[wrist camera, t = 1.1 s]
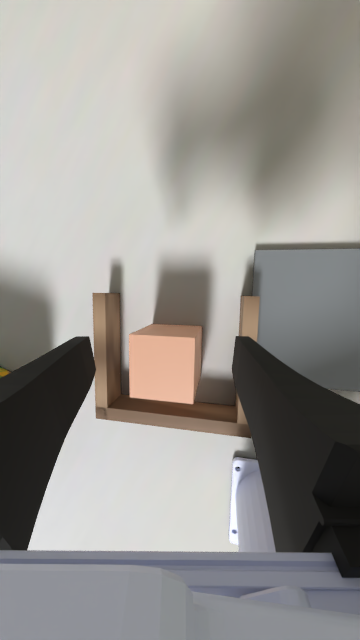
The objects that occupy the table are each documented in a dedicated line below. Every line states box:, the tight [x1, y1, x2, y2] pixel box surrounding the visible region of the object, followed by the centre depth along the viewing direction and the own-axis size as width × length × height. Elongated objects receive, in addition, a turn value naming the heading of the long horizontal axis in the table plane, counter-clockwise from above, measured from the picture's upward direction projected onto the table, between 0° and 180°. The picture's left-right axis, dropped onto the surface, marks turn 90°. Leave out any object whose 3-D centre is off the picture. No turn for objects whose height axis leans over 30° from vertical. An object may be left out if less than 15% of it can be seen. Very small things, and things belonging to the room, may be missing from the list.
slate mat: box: [252, 249, 360, 392], centre depth 20 cm, size 12×10×1 cm
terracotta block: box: [129, 324, 202, 404], centre depth 20 cm, size 5×5×6 cm
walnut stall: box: [93, 293, 260, 438], centre depth 21 cm, size 12×14×3 cm
